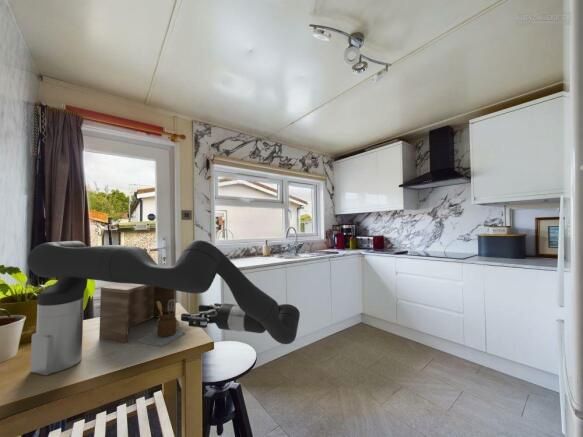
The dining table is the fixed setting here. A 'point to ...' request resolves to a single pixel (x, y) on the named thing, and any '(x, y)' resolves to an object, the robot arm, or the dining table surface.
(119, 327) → the open box
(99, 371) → the dining table surface
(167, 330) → the utensil holder
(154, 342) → the grey mat
